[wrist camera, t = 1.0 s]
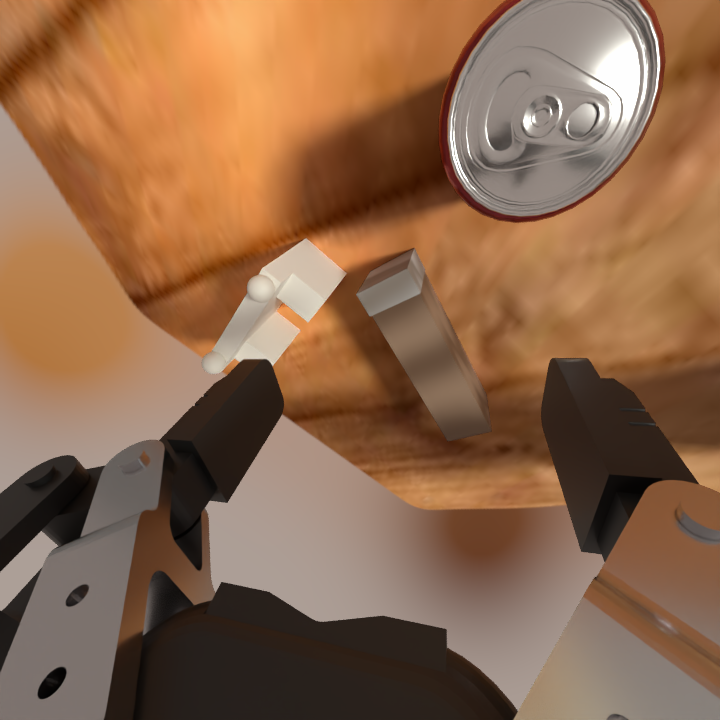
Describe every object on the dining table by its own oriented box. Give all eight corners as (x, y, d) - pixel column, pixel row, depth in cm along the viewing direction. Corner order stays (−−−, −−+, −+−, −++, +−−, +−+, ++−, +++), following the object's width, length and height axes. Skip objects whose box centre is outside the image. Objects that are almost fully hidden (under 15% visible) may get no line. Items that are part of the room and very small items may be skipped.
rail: (487, 394, 33) (493, 432, 28) (447, 406, 35) (446, 443, 30) (414, 247, 27) (407, 268, 22) (370, 271, 29) (356, 294, 24)
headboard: (347, 273, 29) (309, 321, 21) (288, 345, 35) (242, 403, 27) (304, 237, 28) (249, 273, 20) (252, 316, 34) (193, 369, 26)
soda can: (430, 176, 24) (414, 203, 14) (466, 39, 19) (481, -61, 10) (531, 200, 23) (590, 245, 13) (592, 63, 19) (742, -17, 9)
